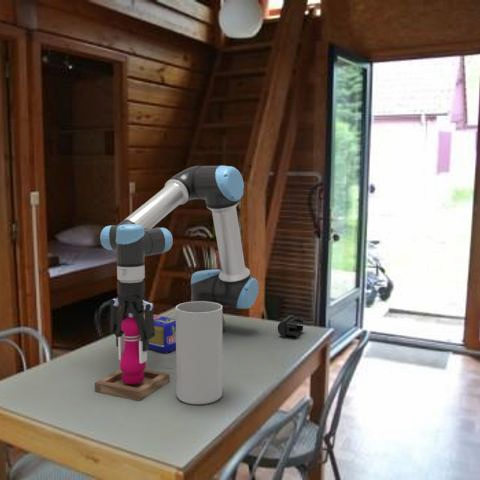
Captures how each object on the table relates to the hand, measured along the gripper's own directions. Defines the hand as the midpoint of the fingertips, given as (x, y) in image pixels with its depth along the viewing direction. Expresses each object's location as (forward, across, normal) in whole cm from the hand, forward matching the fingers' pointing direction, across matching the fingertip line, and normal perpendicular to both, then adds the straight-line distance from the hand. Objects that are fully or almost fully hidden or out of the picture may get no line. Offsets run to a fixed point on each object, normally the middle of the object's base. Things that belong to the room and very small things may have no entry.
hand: (132, 359), depth 155 cm
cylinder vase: (+8, +20, +2) cm, 22 cm away
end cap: (+8, +24, +66) cm, 71 cm away
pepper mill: (+6, 0, 0) cm, 6 cm away
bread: (+8, -17, +34) cm, 39 cm away
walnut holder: (+8, 0, 0) cm, 8 cm away
